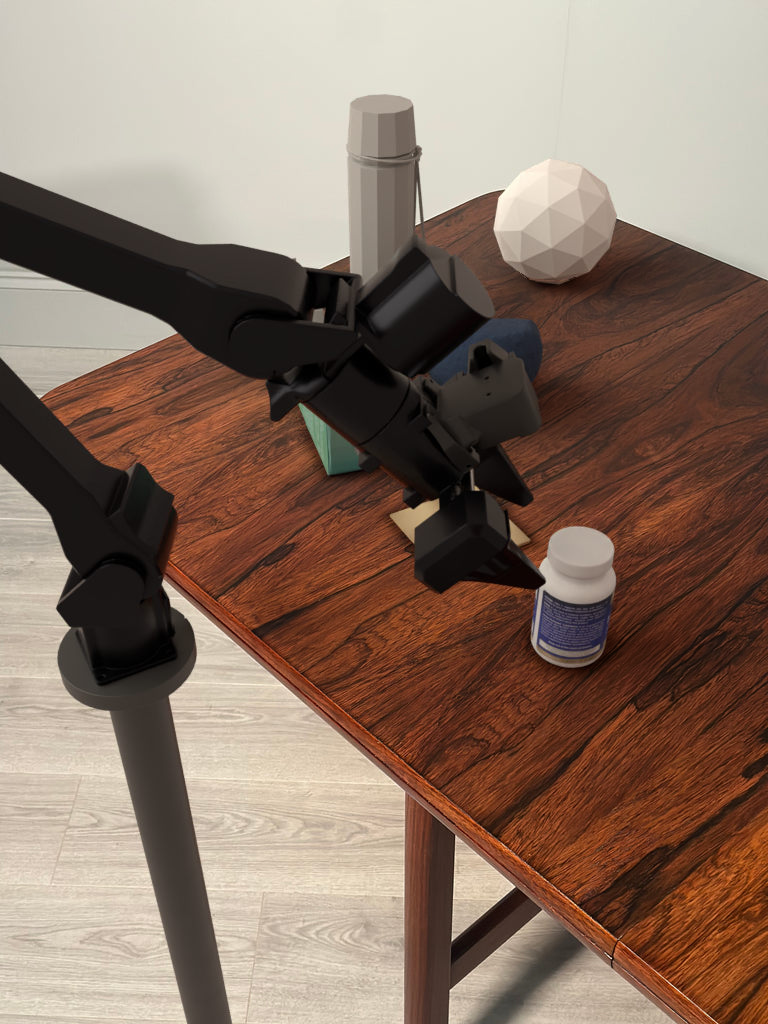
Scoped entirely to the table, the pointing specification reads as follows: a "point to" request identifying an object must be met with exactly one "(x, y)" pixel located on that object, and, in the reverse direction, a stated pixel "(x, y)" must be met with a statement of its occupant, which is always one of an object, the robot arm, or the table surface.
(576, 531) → the pill bottle
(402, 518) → the sticky note
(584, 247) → the geometric sphere
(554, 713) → the table surface
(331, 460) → the box
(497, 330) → the decorative stone
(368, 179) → the water bottle
